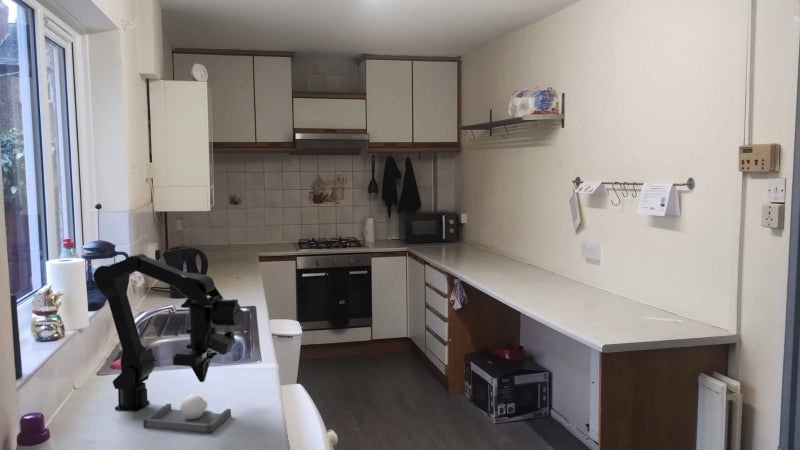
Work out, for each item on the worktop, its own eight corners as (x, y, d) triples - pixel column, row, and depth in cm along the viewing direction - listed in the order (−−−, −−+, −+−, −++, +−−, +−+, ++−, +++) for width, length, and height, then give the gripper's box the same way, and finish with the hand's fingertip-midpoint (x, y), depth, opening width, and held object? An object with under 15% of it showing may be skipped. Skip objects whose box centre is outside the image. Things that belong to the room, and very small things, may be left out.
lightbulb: (213, 391, 168) (199, 393, 157) (216, 414, 166) (201, 418, 156) (191, 394, 168) (175, 397, 157) (193, 418, 167) (177, 422, 156)
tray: (143, 427, 155) (143, 420, 155) (167, 410, 166) (167, 403, 165) (210, 433, 152) (210, 426, 151) (230, 416, 162) (230, 408, 162)
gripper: (212, 335, 153) (214, 396, 155) (244, 317, 172) (245, 372, 173) (171, 332, 155) (172, 393, 157) (206, 315, 173) (207, 369, 175)
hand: (202, 381), depth 165 cm, fingers closed
